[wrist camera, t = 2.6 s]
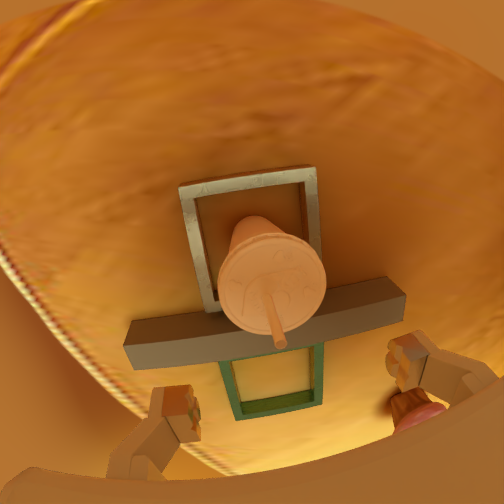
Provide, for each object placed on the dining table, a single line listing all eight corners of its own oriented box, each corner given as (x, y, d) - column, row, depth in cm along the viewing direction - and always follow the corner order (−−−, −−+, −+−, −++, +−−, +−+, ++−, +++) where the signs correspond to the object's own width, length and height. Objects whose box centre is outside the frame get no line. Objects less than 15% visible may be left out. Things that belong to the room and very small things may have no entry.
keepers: (308, 164, 24) (315, 167, 23) (317, 392, 35) (322, 404, 33) (181, 183, 24) (178, 187, 22) (234, 408, 34) (235, 420, 32)
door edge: (386, 276, 29) (406, 294, 26) (384, 300, 31) (402, 320, 27) (132, 320, 28) (122, 345, 24) (141, 344, 29) (134, 370, 25)
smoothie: (200, 232, 26) (188, 334, 13) (260, 183, 25) (310, 241, 12) (248, 283, 28) (275, 402, 15) (305, 240, 27) (377, 334, 14)
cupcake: (429, 368, 37) (463, 414, 27) (423, 401, 40) (450, 443, 31) (376, 393, 37) (405, 446, 27) (376, 423, 40) (399, 470, 31)
